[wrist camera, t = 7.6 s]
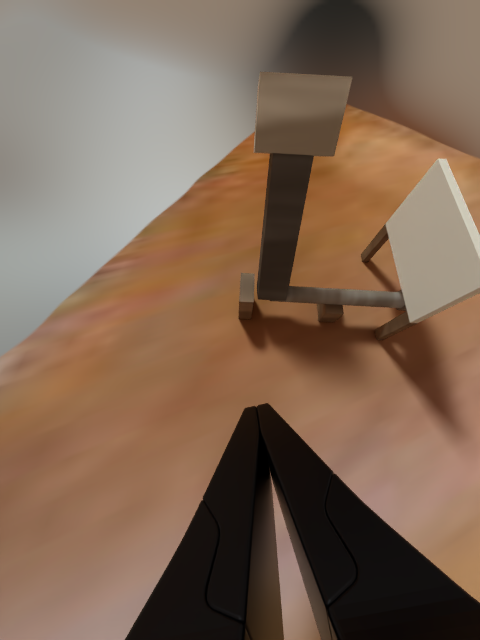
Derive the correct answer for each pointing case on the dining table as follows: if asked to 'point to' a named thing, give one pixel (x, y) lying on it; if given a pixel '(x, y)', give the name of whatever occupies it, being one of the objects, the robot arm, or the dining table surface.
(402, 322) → the peg stand
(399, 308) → the block-topped post frame
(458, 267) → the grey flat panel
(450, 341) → the dining table surface
